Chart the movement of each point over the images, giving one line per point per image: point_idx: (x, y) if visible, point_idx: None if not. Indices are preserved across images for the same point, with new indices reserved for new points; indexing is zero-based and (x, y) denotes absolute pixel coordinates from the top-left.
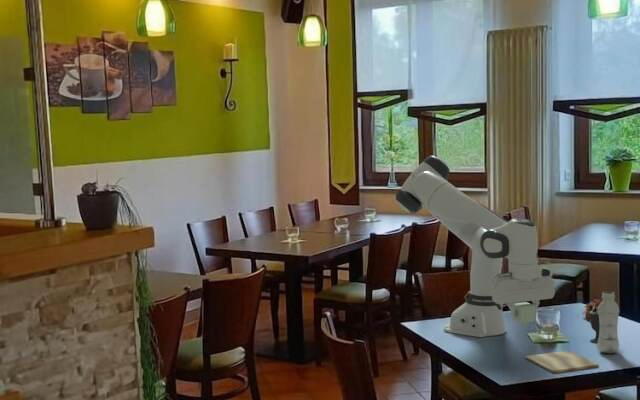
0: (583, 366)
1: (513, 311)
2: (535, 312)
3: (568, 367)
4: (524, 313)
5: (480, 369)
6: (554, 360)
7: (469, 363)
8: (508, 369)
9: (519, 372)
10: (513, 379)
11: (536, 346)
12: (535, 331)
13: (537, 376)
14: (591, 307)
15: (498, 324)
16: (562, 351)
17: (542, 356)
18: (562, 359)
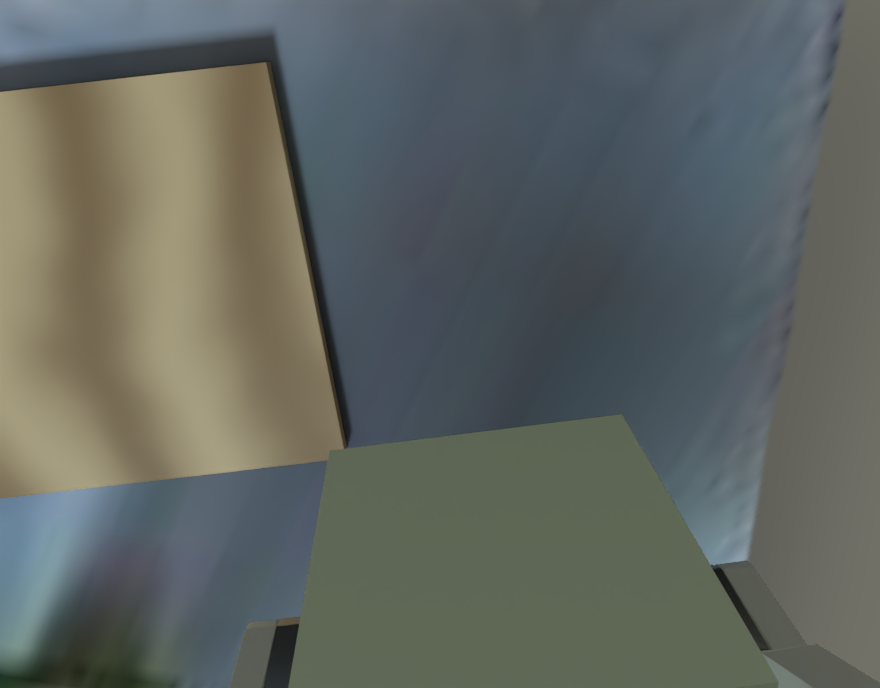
0: None
1: (803, 649)
2: (256, 642)
3: (96, 112)
4: (591, 546)
5: (762, 313)
6: (162, 319)
7: (753, 443)
8: (576, 261)
9: (533, 169)
10: (672, 4)
11: (179, 634)
12: None
13: (439, 20)
14: None
15: None
16: (34, 490)
17: (223, 424)
18: (88, 325)
